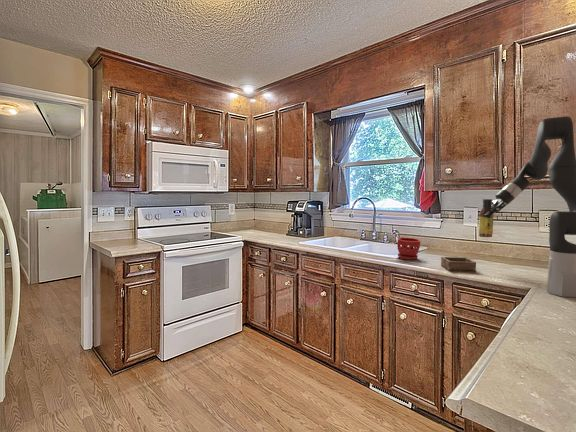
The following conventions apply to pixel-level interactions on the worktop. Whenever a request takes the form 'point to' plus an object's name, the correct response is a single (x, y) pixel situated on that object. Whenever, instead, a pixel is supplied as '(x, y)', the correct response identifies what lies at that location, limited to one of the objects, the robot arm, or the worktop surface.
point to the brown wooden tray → (458, 264)
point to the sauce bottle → (486, 220)
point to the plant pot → (408, 248)
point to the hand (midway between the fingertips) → (482, 216)
